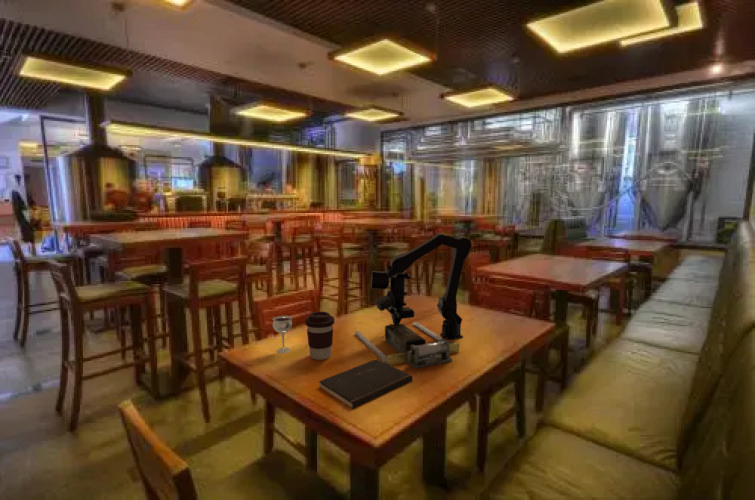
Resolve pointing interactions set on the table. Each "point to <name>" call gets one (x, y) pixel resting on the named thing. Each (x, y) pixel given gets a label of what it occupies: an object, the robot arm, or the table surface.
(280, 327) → the wineglass
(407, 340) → the beverage carton
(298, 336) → the table surface
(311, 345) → the coffee cup
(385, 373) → the hardcover book
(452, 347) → the bay
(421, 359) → the winch
